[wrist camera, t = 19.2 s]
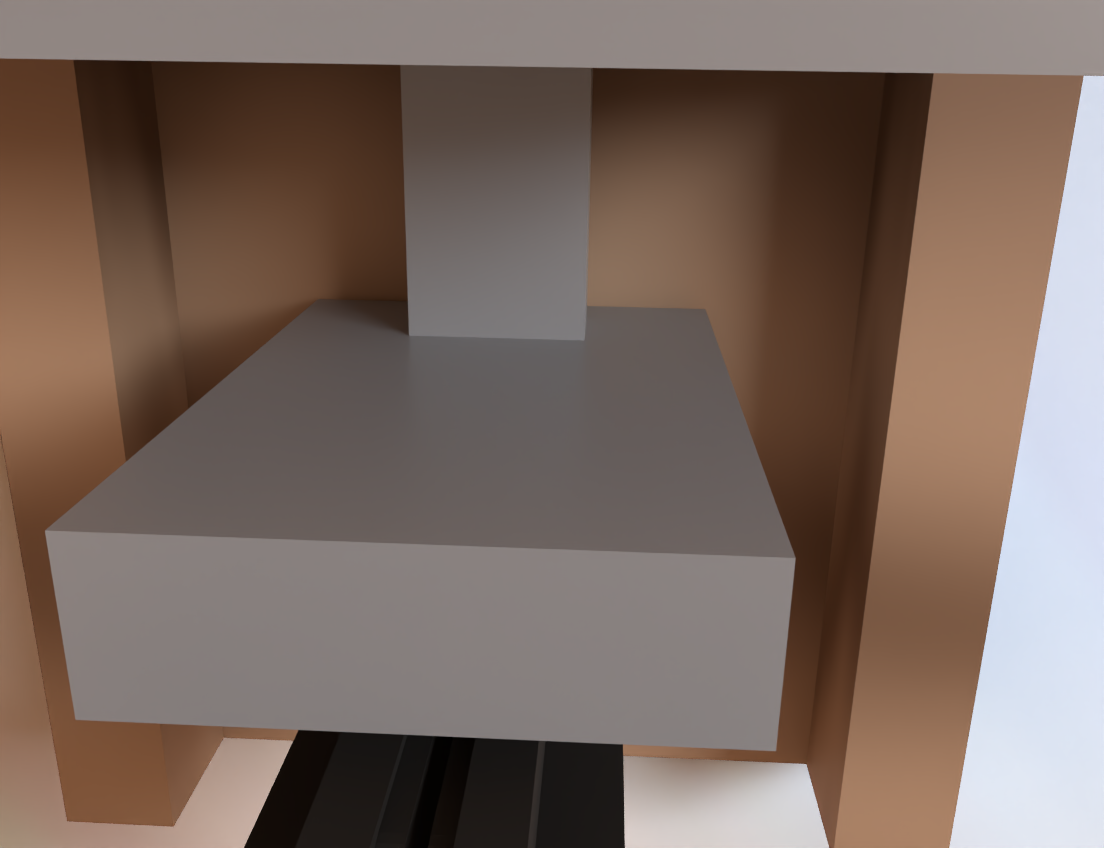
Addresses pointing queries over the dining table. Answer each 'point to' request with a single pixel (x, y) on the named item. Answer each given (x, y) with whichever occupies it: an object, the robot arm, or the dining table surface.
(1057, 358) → the dining table surface
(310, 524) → the pusher
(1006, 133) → the brown wooden tray
